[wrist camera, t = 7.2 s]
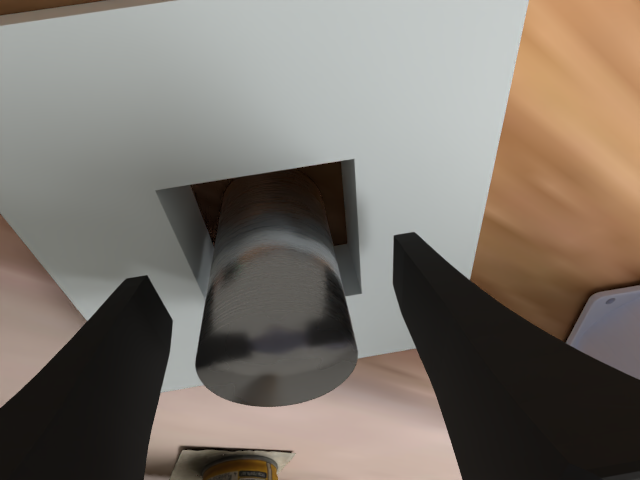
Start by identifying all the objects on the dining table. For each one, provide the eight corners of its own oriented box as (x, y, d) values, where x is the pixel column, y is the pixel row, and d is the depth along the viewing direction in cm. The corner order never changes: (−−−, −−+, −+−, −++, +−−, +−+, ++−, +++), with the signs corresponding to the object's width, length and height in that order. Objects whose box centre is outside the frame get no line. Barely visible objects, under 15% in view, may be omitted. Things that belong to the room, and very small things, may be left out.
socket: (475, -53, 10) (539, -53, 8) (433, 292, 19) (456, 341, 17) (-41, 21, 10) (-135, 45, 7) (160, 338, 19) (146, 394, 16)
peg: (311, 152, 13) (343, 293, 8) (331, 236, 16) (367, 387, 10) (205, 179, 14) (164, 335, 8) (242, 258, 16) (230, 418, 11)
